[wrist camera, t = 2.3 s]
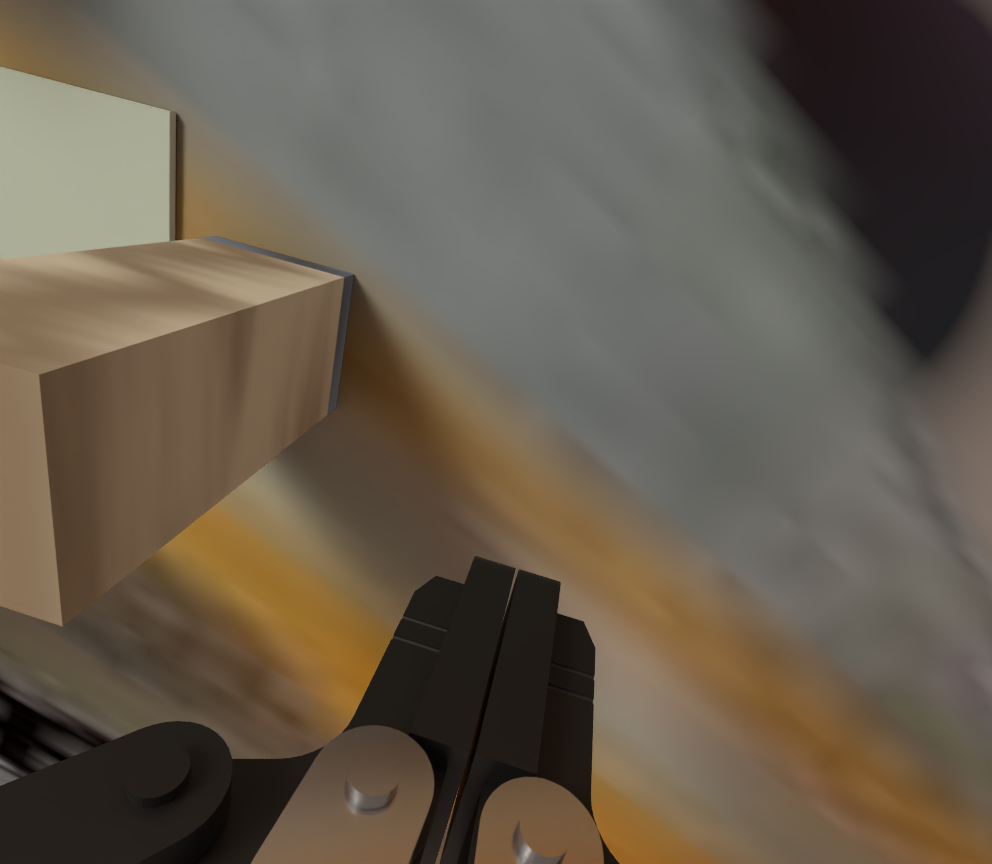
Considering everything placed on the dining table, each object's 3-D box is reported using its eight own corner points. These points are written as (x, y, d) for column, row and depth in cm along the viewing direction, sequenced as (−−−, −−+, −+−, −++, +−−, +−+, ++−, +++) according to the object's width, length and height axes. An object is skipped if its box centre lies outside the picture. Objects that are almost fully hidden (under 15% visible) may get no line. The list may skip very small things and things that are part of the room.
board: (-114, 355, 24) (-123, 357, 24) (-184, 18, 19) (-195, 15, 19) (173, 442, 23) (168, 445, 23) (176, 112, 19) (169, 111, 18)
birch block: (211, 371, 22) (-179, 547, 11) (216, 236, 20) (-255, 287, 9) (336, 408, 22) (62, 626, 11) (353, 274, 20) (38, 374, 9)
